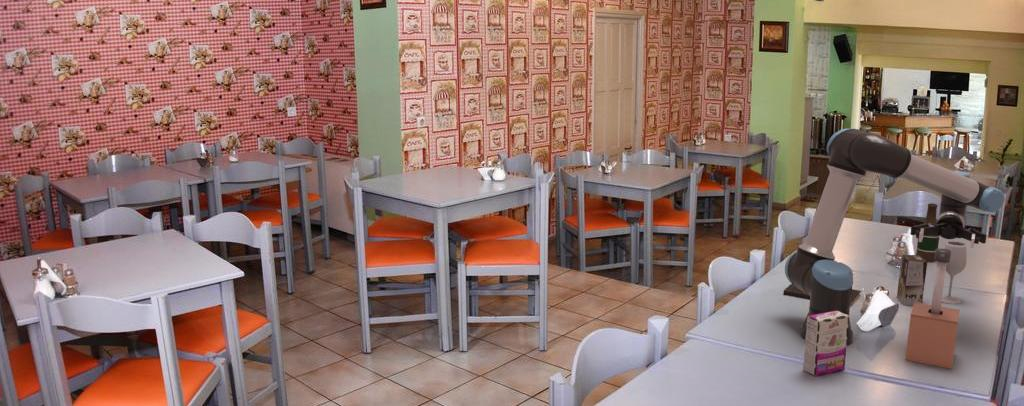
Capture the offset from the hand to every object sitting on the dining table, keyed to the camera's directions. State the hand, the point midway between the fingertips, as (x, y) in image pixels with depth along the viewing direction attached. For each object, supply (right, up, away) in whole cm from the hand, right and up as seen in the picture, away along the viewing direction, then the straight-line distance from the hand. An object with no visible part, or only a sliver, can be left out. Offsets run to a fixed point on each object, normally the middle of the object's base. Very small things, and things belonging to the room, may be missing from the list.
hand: (946, 240), depth 237 cm
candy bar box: (-41, -36, -11) cm, 55 cm away
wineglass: (+27, -24, +48) cm, 60 cm away
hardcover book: (-16, -23, +54) cm, 60 cm away
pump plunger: (-6, -24, -5) cm, 25 cm away
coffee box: (+12, -24, +47) cm, 54 cm away
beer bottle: (+45, -13, +99) cm, 109 cm away
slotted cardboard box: (-5, -34, -1) cm, 35 cm away
